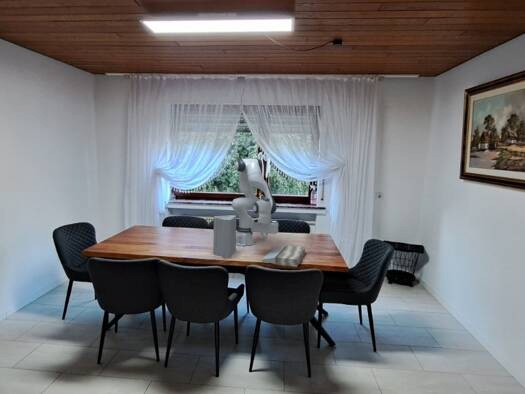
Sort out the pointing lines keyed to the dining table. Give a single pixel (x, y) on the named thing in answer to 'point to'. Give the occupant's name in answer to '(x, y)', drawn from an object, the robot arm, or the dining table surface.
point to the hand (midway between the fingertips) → (264, 238)
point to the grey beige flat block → (291, 256)
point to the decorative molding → (273, 255)
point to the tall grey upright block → (224, 236)
